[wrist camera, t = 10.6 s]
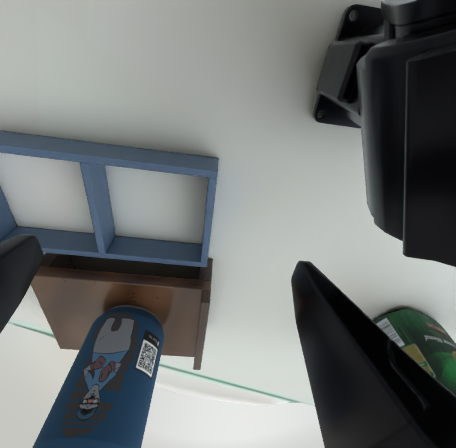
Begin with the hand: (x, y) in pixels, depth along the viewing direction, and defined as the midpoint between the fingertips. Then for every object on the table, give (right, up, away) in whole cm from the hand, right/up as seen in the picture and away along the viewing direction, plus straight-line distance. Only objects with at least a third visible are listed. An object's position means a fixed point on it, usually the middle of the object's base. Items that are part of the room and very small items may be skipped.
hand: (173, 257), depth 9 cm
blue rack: (-9, +4, +13) cm, 16 cm away
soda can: (-8, -9, +17) cm, 21 cm away
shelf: (-8, -7, +20) cm, 23 cm away
